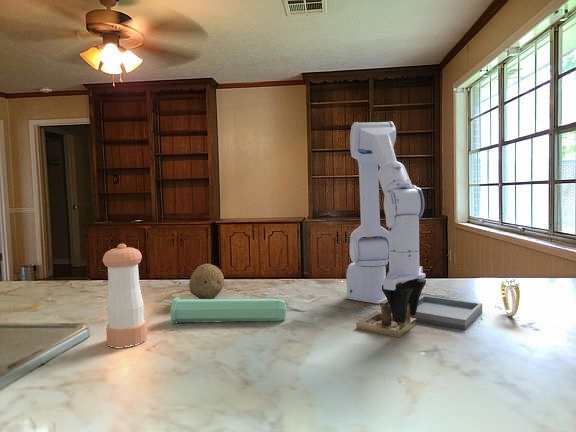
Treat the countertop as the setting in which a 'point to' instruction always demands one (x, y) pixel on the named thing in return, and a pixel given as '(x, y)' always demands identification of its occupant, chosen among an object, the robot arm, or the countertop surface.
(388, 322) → the brown stamp
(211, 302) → the container
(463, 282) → the countertop surface
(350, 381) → the countertop surface
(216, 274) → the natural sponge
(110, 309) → the salt shaker
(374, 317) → the wooden frame with post
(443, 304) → the tray
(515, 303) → the ring
